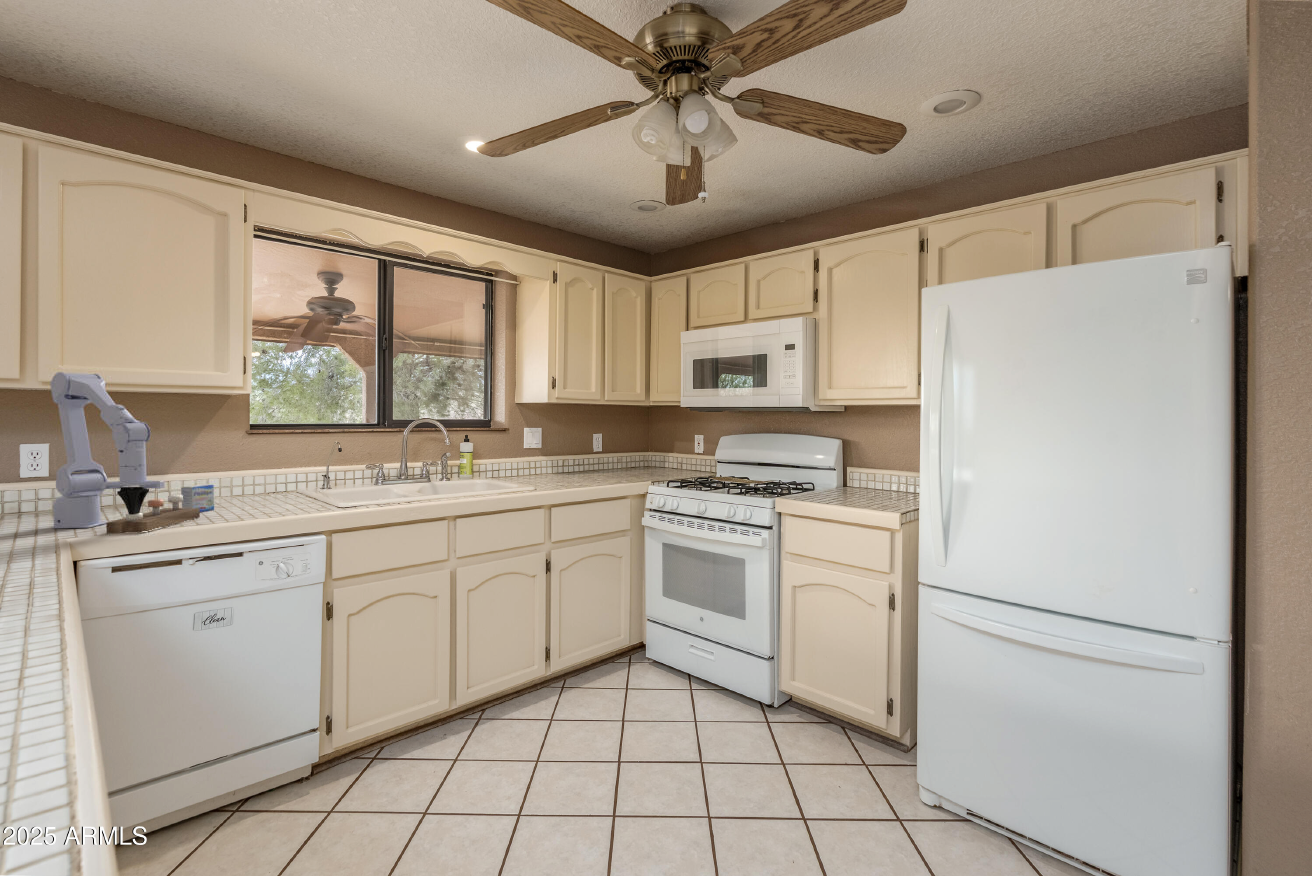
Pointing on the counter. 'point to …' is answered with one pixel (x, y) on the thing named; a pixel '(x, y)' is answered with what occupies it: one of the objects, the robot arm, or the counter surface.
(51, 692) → the counter surface
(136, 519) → the knob
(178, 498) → the knob
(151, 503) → the knob middle
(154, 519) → the rack
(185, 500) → the medicine box
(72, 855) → the counter surface
